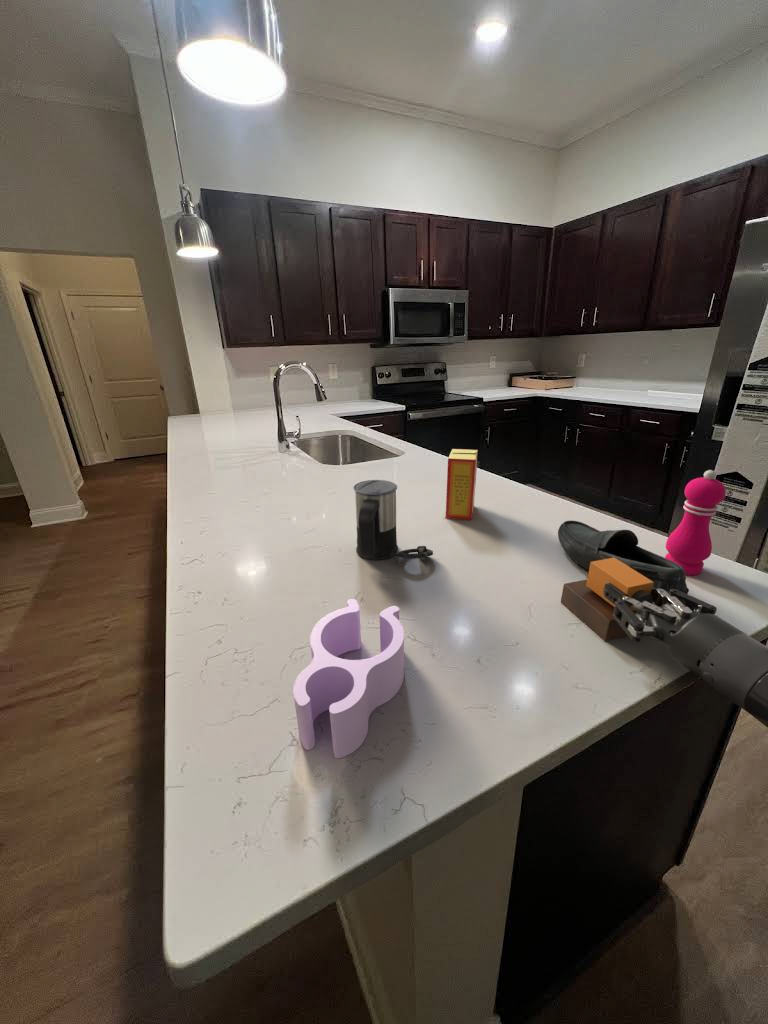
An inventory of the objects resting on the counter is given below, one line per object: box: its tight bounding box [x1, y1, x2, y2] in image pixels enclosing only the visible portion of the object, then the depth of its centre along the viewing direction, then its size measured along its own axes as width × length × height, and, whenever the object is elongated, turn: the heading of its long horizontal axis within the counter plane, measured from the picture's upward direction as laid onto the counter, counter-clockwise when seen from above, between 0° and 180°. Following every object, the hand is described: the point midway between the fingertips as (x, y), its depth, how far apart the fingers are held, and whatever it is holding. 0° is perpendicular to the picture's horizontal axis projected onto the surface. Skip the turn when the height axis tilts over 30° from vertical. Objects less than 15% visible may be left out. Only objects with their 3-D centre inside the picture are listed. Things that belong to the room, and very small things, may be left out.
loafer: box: [557, 520, 690, 606], centre depth 78 cm, size 10×29×10 cm, turn 18°
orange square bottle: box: [586, 558, 654, 611], centre depth 65 cm, size 9×5×5 cm, turn 16°
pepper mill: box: [664, 469, 727, 576], centre depth 79 cm, size 7×7×20 cm
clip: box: [292, 598, 405, 759], centre depth 55 cm, size 20×12×7 cm, turn 163°
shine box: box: [560, 579, 649, 642], centre depth 68 cm, size 10×9×4 cm
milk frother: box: [353, 479, 434, 560], centre depth 87 cm, size 14×16×15 cm
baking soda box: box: [445, 448, 479, 521], centre depth 107 cm, size 10×6×16 cm
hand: (620, 585), depth 65 cm, fingers closed on orange square bottle, 4 cm apart
